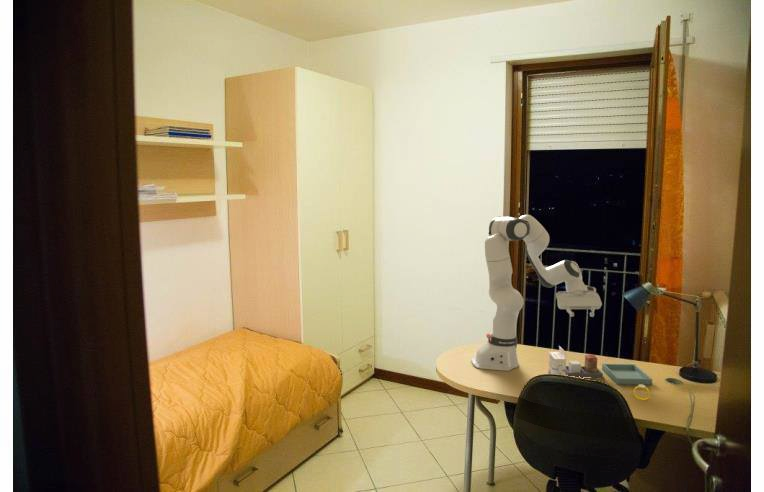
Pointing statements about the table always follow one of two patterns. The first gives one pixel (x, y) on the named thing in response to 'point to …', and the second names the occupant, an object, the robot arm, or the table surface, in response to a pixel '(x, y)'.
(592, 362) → the cylinder
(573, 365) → the pale grey fuse
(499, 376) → the table surface
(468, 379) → the table surface
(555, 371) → the ink cartridge box
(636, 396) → the gold ring
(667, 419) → the table surface
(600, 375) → the fuse rack
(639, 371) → the slate-green tray
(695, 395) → the table surface
